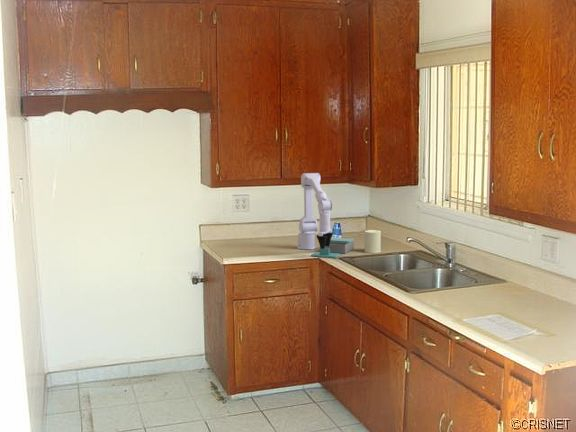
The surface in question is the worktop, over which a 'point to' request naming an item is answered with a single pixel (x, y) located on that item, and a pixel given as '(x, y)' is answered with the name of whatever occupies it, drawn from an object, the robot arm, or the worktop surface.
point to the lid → (325, 253)
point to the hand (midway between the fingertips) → (324, 247)
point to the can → (372, 241)
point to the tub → (341, 245)
